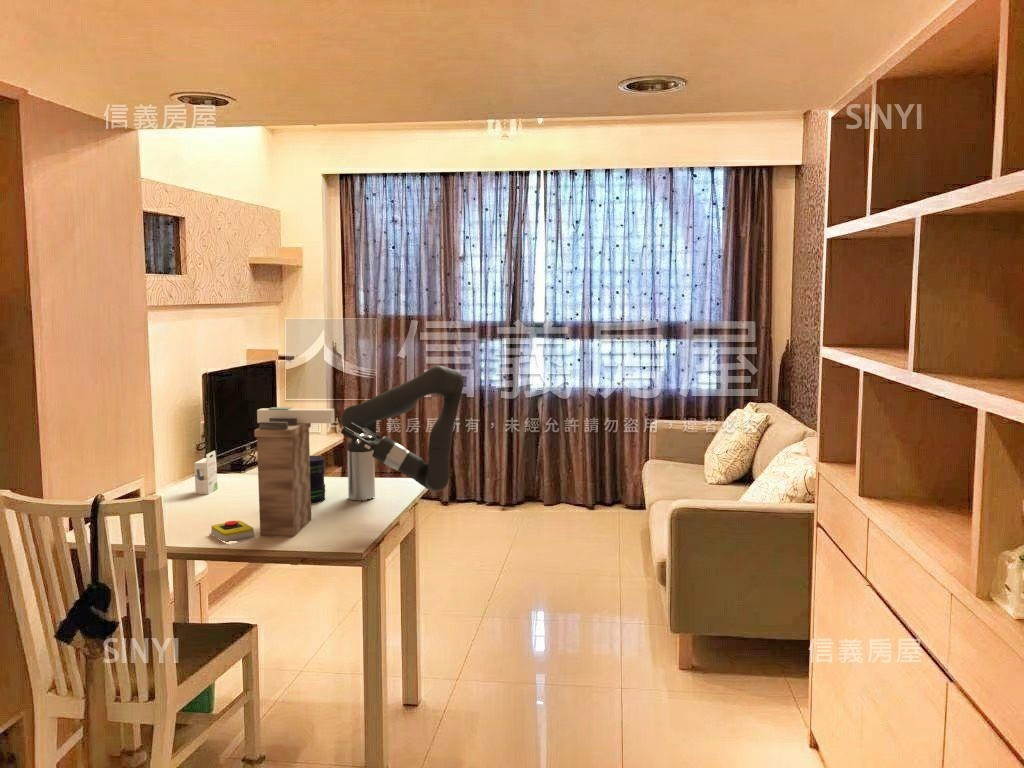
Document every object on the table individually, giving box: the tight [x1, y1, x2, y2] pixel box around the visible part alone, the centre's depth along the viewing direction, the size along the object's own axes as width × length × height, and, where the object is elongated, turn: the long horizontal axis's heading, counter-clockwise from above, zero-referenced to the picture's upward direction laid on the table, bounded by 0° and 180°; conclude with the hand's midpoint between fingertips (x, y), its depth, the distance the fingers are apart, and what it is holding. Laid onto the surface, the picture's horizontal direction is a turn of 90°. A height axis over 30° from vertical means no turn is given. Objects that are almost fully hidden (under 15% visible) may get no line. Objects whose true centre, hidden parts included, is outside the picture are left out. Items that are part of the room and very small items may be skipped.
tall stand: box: [253, 418, 312, 537], centre depth 240 cm, size 19×11×34 cm, turn 178°
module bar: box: [256, 406, 336, 424], centre depth 245 cm, size 4×23×4 cm, turn 88°
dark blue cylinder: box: [310, 455, 326, 505], centre depth 275 cm, size 10×10×15 cm
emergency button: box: [210, 520, 258, 543], centre depth 234 cm, size 9×4×15 cm
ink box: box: [193, 450, 219, 495], centre depth 288 cm, size 9×5×15 cm, turn 178°
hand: (345, 427), depth 244 cm, fingers open, 8 cm apart
